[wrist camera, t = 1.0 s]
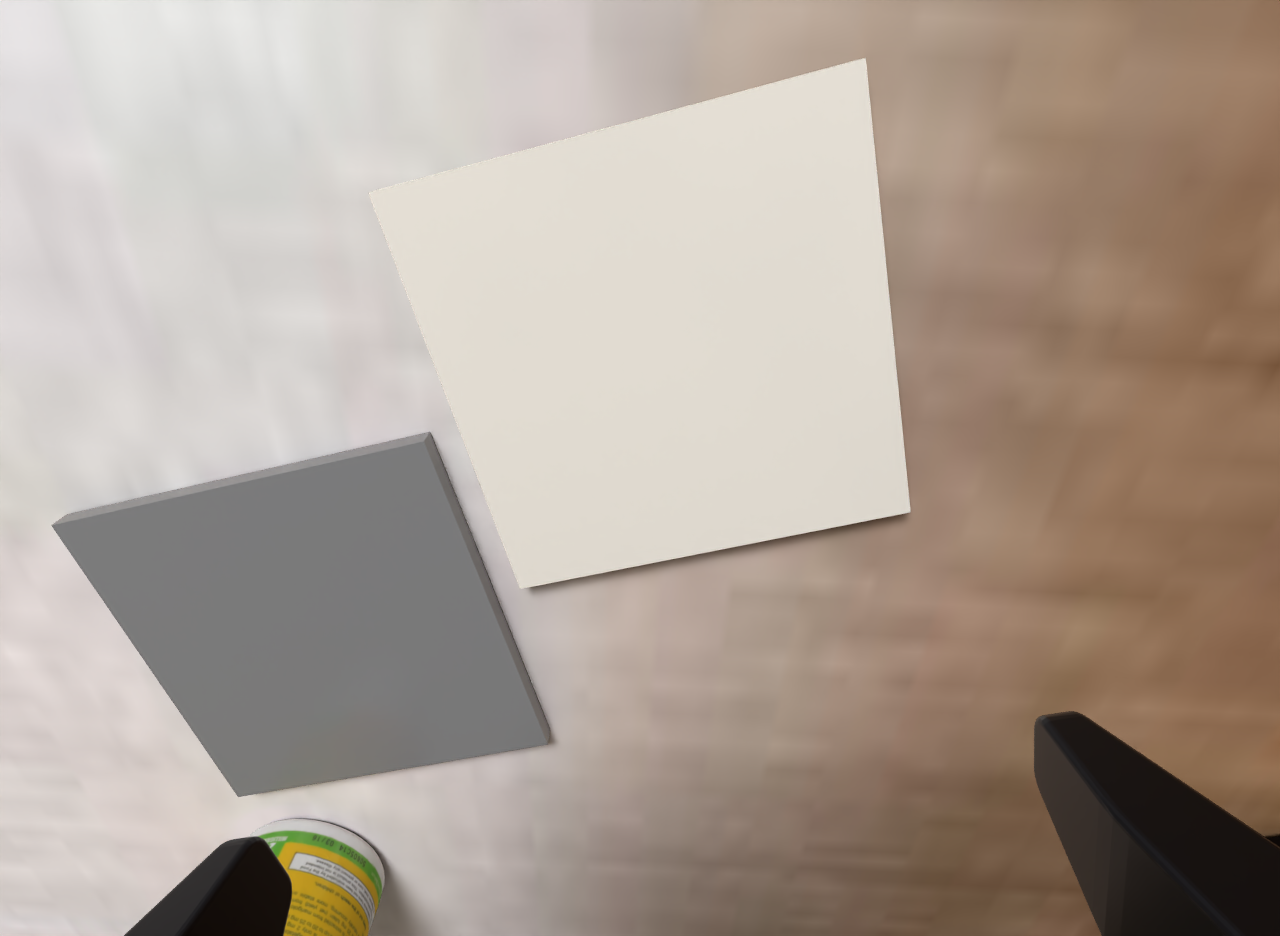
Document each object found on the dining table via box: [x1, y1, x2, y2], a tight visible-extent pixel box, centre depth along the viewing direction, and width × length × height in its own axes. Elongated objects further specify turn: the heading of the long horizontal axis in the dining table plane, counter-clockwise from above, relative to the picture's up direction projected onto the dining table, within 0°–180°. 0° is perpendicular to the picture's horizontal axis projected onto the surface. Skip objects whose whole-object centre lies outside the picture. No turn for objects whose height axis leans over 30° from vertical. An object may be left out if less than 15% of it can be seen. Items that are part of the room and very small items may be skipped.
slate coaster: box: [51, 432, 550, 797], centre depth 23 cm, size 11×11×1 cm
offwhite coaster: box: [368, 58, 910, 589], centre depth 19 cm, size 11×11×1 cm
